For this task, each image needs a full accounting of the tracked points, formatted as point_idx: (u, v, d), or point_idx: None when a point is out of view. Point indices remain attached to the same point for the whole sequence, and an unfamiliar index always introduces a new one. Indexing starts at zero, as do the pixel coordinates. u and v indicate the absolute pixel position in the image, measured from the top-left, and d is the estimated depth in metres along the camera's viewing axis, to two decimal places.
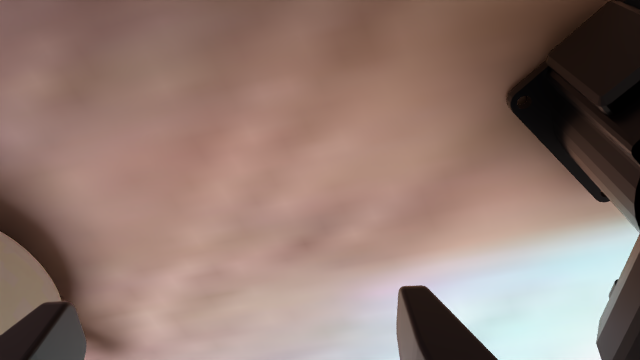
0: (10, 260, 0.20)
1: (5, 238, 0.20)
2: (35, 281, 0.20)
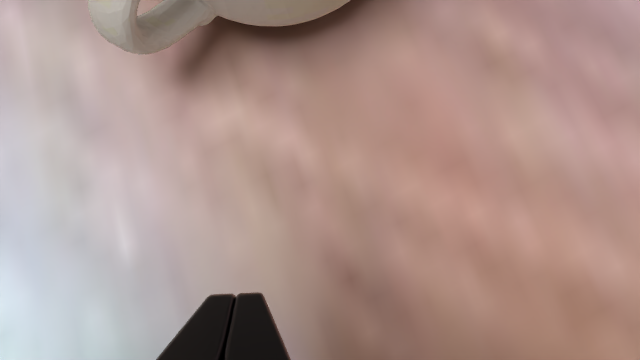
0: None
1: None
2: (337, 2, 0.20)
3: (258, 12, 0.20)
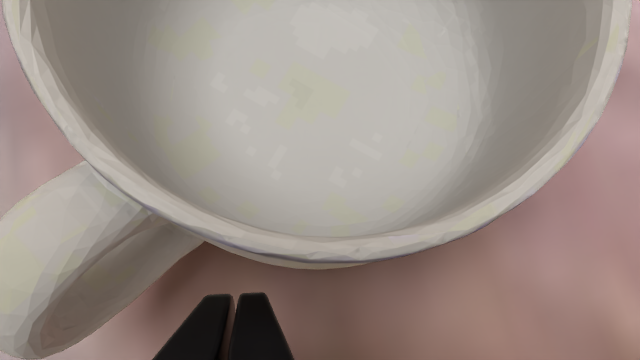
0: None
1: None
2: None
3: (272, 264, 0.12)
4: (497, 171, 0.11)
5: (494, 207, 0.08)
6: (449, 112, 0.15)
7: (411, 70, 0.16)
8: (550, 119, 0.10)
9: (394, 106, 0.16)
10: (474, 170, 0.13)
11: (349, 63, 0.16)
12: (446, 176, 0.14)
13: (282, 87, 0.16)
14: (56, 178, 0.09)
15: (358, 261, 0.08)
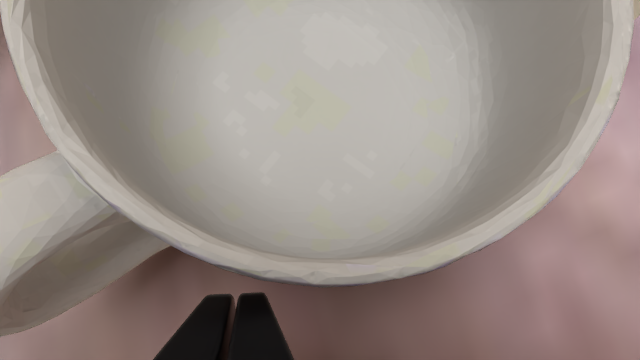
0: None
1: None
2: None
3: None
4: (476, 208, 0.11)
5: (457, 247, 0.08)
6: (447, 139, 0.15)
7: (415, 92, 0.16)
8: (533, 163, 0.10)
9: (393, 126, 0.16)
10: (460, 202, 0.13)
11: (353, 78, 0.16)
12: (434, 203, 0.14)
13: (284, 94, 0.16)
14: (29, 163, 0.09)
15: (312, 284, 0.08)
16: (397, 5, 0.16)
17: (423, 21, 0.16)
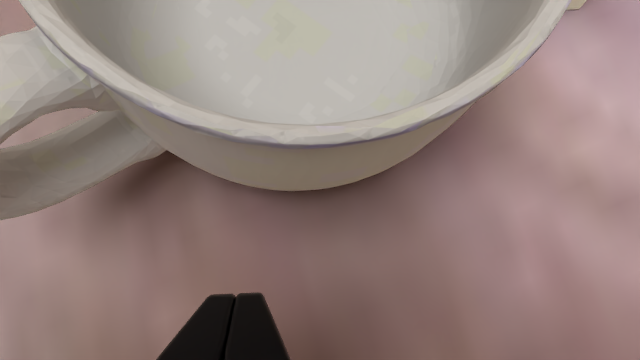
0: None
1: None
2: (350, 182, 0.13)
3: (222, 175, 0.12)
4: None
5: (425, 111, 0.09)
6: (426, 61, 0.15)
7: (395, 18, 0.16)
8: (502, 46, 0.10)
9: (374, 51, 0.16)
10: None
11: (334, 5, 0.16)
12: None
13: (265, 19, 0.16)
14: (3, 36, 0.09)
15: (282, 145, 0.08)
16: None
17: None
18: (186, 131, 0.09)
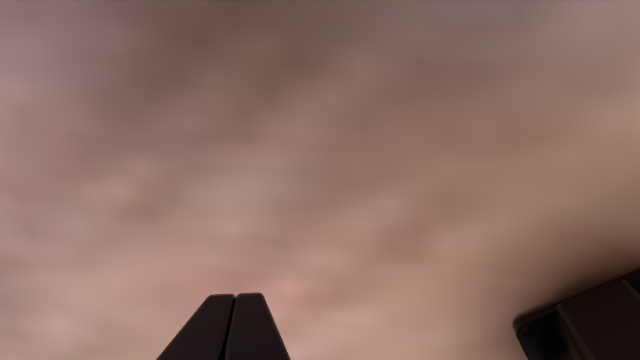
0: None
1: None
2: None
3: None
4: None
5: None
6: None
7: None
8: None
9: None
10: None
11: None
12: None
13: None
14: None
15: None
16: None
17: None
18: None
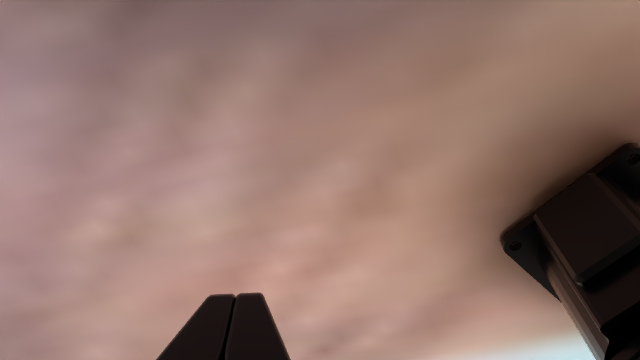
0: None
1: None
2: None
3: None
4: None
5: None
6: None
7: None
8: None
9: None
10: None
11: None
12: None
13: None
14: None
15: None
16: None
17: None
18: None
